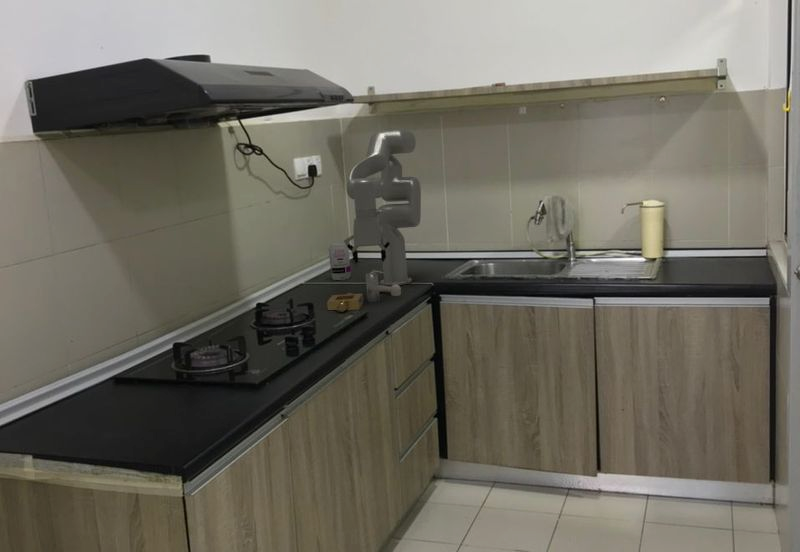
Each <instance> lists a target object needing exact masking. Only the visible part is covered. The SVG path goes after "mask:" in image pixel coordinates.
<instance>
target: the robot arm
mask: <svg viewBox="0 0 800 552" xmlns="http://www.w3.org/2000/svg"><path fill="white" fill-rule="evenodd" d="M416 141H417V140H416V137H415V134H414V133H413V132H412V131H411V130H405V129H389V130H387V129H386V130H379V131H378V130H377V131H375V132H373V133H372V135H371V136H370V140H369V143H368V147H367V152H366V156H365V157H364V158H363V159H361V160H360V161H359V162H358V163H357V164H355V166H354V167H353V168H352V169H351V170H350V172H349V174H348V175H349V176H348V178H347V183H346V193H347V196H348V197H349V199H352V200H353V201H354V211H355V213H354V214H355V218H354V220H353V235H350V236H349V237H347V238H346V239H344V240H343V243H345V244H346V245H347V247H348V249H349V250H350V251H351V252H352V260H353V262H354V263H355V264H357V263H358V262H359V255H358V253H359V252H358V250H357V249H358V248H359V247H360V248H361V247H374V246H376V247H377V246H378V247H379V248H380V249H381V250H380V257H381V262H382V272H383V273H385V274H383V273H382V274H383V279H382V280H381V279H380V282H379V283H380V284H379V285H384V286H387V287H391V286H392V285H394V284H397V285H399V286H402V285H407V284H411V283H412V282H413V279H412V278H411V277H408V267H407V266H408V265H407V256H406V255H407V253H406V240H405V238H404V237H405V236H404V234H402V232H401V231H400V230H399V229H406V228H408V229H409V228H415V227H418V226H420V222H421V217H422V216H421V215H422V214H421V213H422V212H421V211H422V210H421V209H422V207H421V206H422V202H421V201H422V193H421V191H422V189H421V183H420V181H419V179H418V178H416V177H415V176H403V165H402V164H401V162H400V160H398V158H396V157H395V155H396V154H397V155H398V154H399V155H400V154H411V153H413V152H414V150H415V148H416ZM379 172H380V177H370V176H373V175H375V174H377V173H379ZM376 199H382V200H383V201H385V202H387V204H383V205H380V206H379V207H377V204H376V203H377V202H376V201H377V200H376ZM388 202H390V203H388ZM392 202H393V203H392ZM395 202H396V203H395ZM397 202H404V203H397ZM405 202H407V203H405ZM351 241H353V245H351V243H350V242H351Z"/></svg>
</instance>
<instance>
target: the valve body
mask: <svg viewBox="0 0 800 552" xmlns="http://www.w3.org/2000/svg"><path fill="white" fill-rule="evenodd" d="M363 295H364V293H352V292H348V293H345V294H334V295H331V296H330V298H329V299H328V300H327V301H326V304H327V311H328V310H337V311H336V312H338V311H345V310H346V311H359V310H361V307H362V306H363V304H364V296H363ZM346 311H345V312H346Z"/></svg>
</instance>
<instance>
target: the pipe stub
mask: <svg viewBox="0 0 800 552" xmlns="http://www.w3.org/2000/svg"><path fill="white" fill-rule="evenodd" d="M365 284H366V297H367V298H366V299H367V303H377V302H380V300H381V299H380V291H379V285H380V284H379V275H378V272H375V273H371V272H369V273H366V274H365Z"/></svg>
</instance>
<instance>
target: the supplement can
mask: <svg viewBox="0 0 800 552" xmlns="http://www.w3.org/2000/svg"><path fill="white" fill-rule="evenodd" d="M349 250H350V249H349V248H348V247H347V245H346V244H345V242H335V243H334V242H333V243H330V244H329V248H328V252H329V253H328V254H329V255H328V257H329V264H330V265H329V267H330V273H331V280H333V281H335V280H341V281H346V279H347V280H349V278H351V277H352V273H351V262H350V261H351V260H350V253H349V252H350V251H349Z"/></svg>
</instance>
